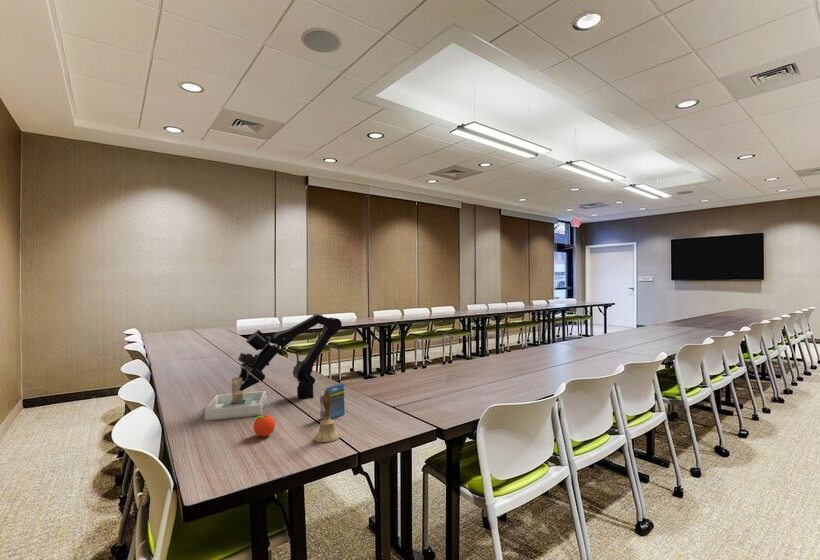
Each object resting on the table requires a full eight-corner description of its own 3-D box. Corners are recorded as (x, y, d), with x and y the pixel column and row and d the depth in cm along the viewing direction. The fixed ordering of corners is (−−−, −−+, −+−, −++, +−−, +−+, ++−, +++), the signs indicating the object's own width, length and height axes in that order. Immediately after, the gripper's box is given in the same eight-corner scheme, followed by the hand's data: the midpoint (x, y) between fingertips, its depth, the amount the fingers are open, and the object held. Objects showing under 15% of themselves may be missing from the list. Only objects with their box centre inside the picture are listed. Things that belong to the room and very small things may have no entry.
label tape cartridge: (338, 412, 156) (338, 381, 156) (345, 414, 153) (344, 383, 153) (320, 418, 149) (319, 386, 149) (326, 421, 146) (325, 388, 146)
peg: (245, 406, 162) (244, 377, 162) (236, 409, 158) (236, 380, 158) (239, 405, 164) (238, 376, 164) (230, 408, 160) (229, 379, 160)
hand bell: (329, 431, 137) (328, 385, 137) (345, 436, 132) (344, 389, 132) (309, 438, 130) (308, 390, 130) (325, 445, 125) (324, 395, 125)
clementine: (249, 441, 129) (248, 420, 129) (251, 433, 136) (251, 413, 136) (274, 438, 131) (274, 417, 131) (275, 430, 138) (275, 410, 138)
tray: (266, 400, 173) (266, 391, 173) (261, 415, 154) (260, 405, 154) (216, 404, 168) (216, 395, 168) (204, 420, 149) (204, 410, 149)
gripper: (245, 342, 172) (218, 371, 166) (255, 348, 156) (226, 380, 150) (264, 358, 176) (238, 387, 170) (276, 365, 161) (248, 397, 155)
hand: (237, 387), depth 161 cm, fingers open, 9 cm apart
